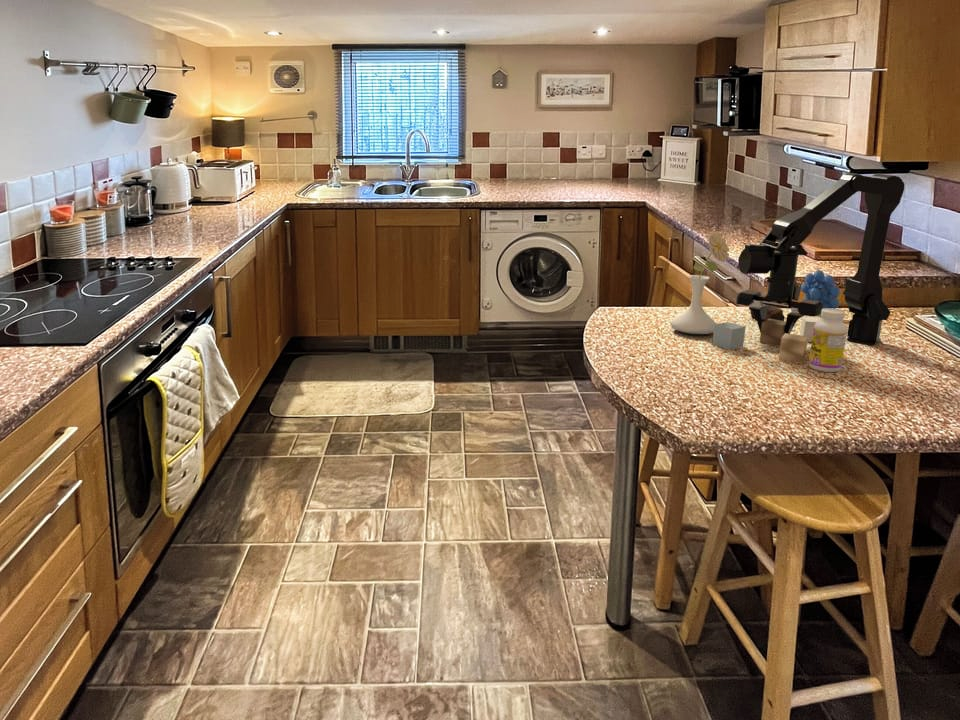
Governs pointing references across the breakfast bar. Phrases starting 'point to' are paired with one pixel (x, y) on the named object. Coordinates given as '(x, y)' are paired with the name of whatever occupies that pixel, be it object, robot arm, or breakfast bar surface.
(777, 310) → the brick
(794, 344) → the oak cube
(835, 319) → the supplement bottle
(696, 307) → the flower in vase
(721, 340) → the slate blue cube
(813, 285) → the grapes
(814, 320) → the cream cube
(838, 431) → the breakfast bar surface
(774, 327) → the walnut cube
